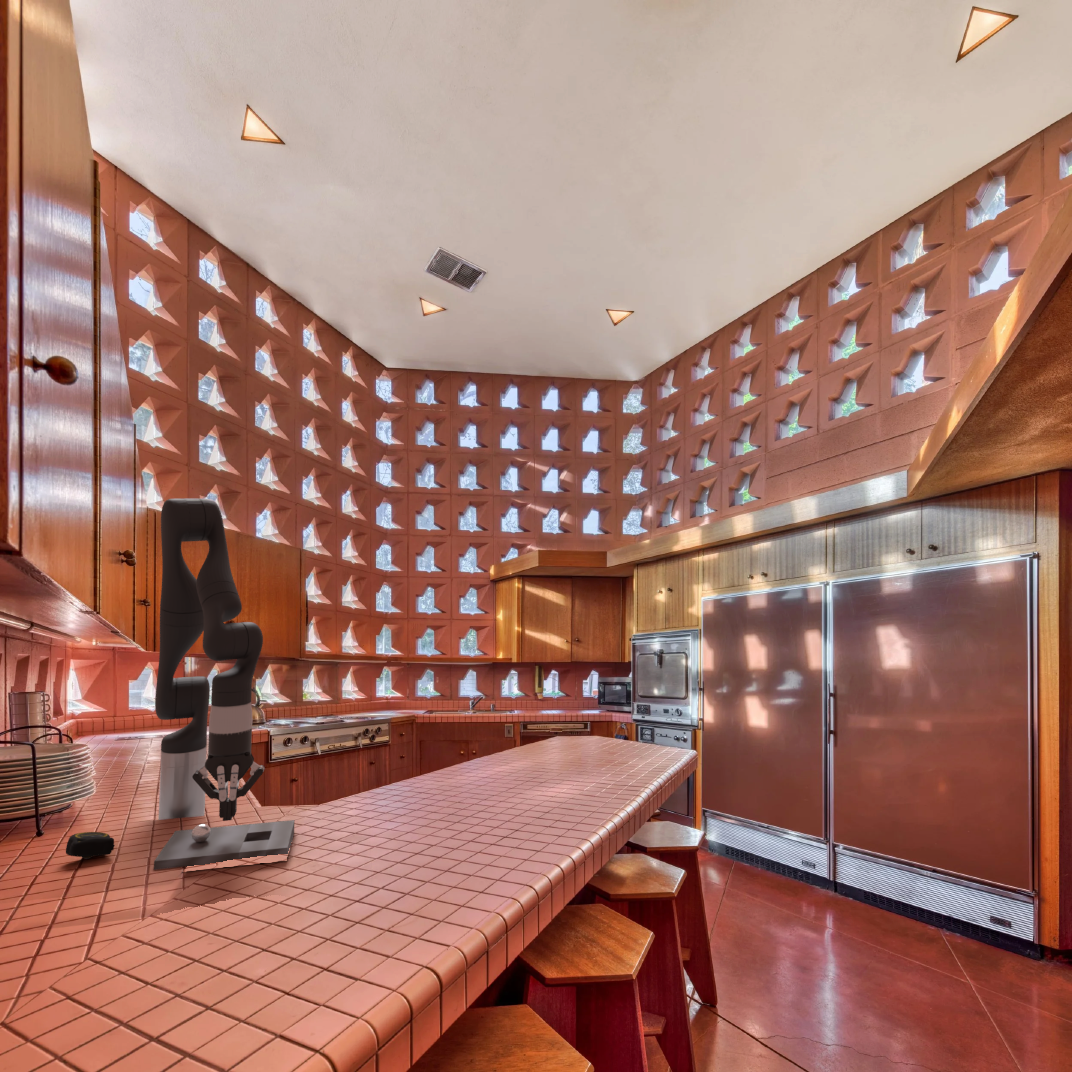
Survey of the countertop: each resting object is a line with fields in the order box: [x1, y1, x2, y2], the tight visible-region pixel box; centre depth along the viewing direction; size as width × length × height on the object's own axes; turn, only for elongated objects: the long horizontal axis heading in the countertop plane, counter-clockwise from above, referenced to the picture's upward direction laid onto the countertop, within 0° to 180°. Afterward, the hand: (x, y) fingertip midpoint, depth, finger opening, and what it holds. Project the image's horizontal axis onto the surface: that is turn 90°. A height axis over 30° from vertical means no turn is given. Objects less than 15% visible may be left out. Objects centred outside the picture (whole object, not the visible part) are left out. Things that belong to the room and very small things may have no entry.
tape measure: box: [65, 831, 116, 860], centre depth 121 cm, size 7×7×4 cm
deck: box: [153, 819, 295, 871], centre depth 124 cm, size 22×14×2 cm, turn 105°
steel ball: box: [192, 823, 211, 842], centre depth 123 cm, size 3×3×3 cm
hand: (227, 819), depth 124 cm, fingers closed
